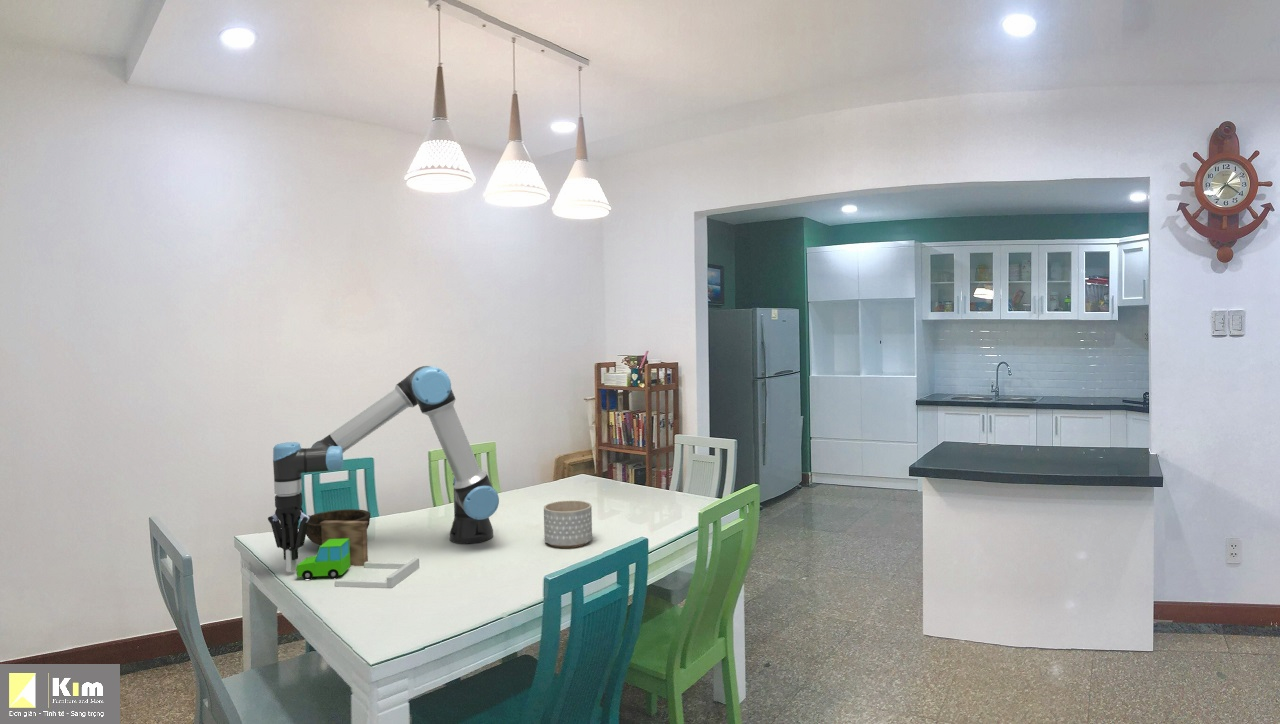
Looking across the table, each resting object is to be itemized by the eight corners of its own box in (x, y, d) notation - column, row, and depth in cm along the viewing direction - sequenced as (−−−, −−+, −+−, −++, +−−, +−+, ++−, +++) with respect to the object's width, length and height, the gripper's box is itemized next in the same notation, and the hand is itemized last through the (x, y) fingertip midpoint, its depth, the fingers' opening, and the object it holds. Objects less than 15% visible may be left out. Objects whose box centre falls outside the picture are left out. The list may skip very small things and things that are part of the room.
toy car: (307, 571, 221) (306, 539, 221) (351, 569, 222) (350, 537, 222) (294, 582, 211) (293, 548, 210) (340, 580, 212) (339, 546, 212)
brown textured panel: (369, 563, 227) (368, 521, 227) (364, 566, 224) (363, 523, 224) (326, 562, 229) (324, 520, 229) (321, 565, 226) (319, 522, 226)
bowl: (304, 558, 233) (303, 528, 233) (302, 542, 253) (301, 514, 252) (375, 548, 243) (374, 519, 243) (367, 533, 263) (366, 506, 262)
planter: (602, 541, 247) (601, 505, 246) (566, 552, 235) (565, 514, 234) (570, 533, 258) (569, 498, 257) (534, 543, 246) (533, 506, 245)
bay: (419, 567, 222) (419, 558, 222) (391, 588, 204) (391, 577, 204) (366, 566, 224) (366, 556, 224) (334, 586, 206) (334, 576, 206)
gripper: (315, 491, 220) (318, 566, 221) (276, 490, 222) (279, 565, 222) (300, 496, 212) (303, 574, 213) (260, 496, 214) (263, 573, 215)
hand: (291, 570), depth 218 cm, fingers closed
